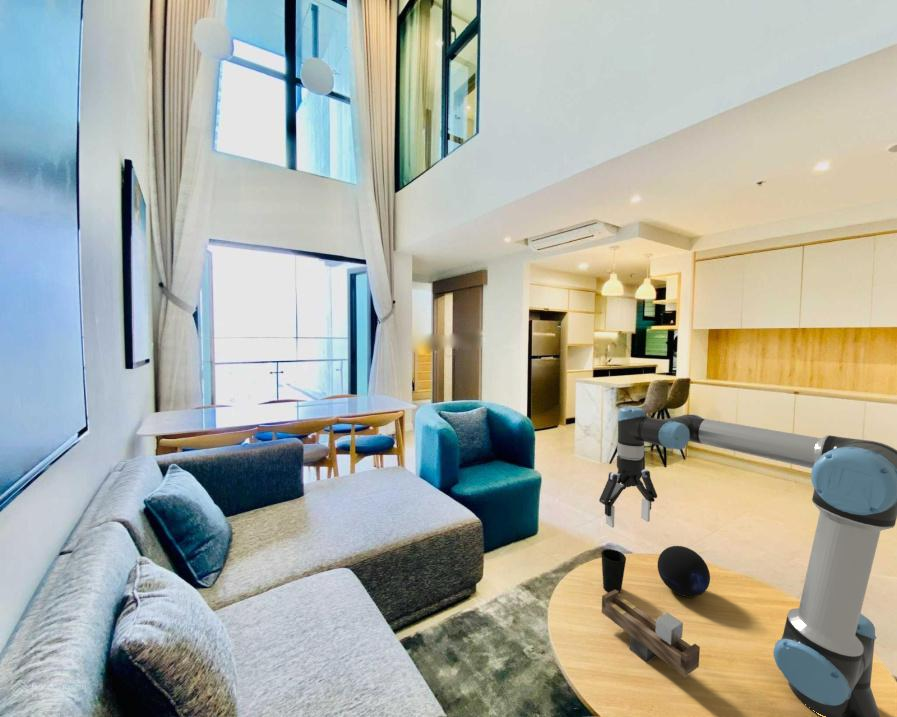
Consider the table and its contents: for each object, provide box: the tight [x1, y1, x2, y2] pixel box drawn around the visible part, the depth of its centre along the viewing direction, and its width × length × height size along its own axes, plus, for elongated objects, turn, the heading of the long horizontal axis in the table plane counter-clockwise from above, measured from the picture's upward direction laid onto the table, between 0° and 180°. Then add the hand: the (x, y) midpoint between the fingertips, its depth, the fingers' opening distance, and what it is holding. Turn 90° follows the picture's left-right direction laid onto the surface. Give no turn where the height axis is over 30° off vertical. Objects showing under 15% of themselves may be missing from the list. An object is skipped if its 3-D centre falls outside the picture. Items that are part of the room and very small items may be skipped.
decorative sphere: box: [657, 545, 711, 598], centre depth 127 cm, size 15×15×15 cm
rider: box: [655, 612, 684, 648], centre depth 97 cm, size 4×5×7 cm
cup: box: [600, 548, 627, 595], centre depth 128 cm, size 8×8×12 cm
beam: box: [601, 589, 701, 678], centre depth 103 cm, size 24×6×9 cm, turn 29°
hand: (627, 522), depth 119 cm, fingers open, 13 cm apart
